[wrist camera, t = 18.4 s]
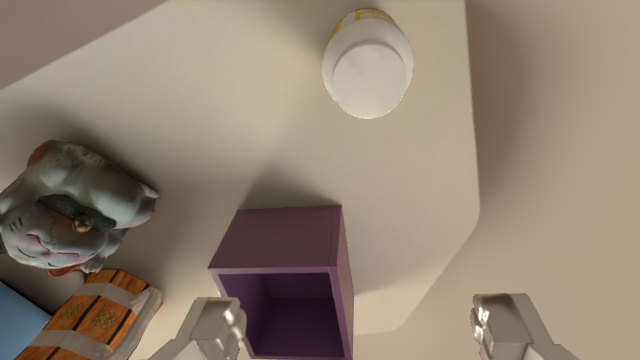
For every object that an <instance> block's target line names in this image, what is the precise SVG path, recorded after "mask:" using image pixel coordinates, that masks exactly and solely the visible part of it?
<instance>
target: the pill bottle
mask: <svg viewBox="0 0 640 360" xmlns="http://www.w3.org/2000/svg"><path fill="white" fill-rule="evenodd" d="M413 71H414V56H413V51H412V48H411V45H410V43H409V41H408V39H407V37H406V36H405V35H404V33H403V32H402V31H401V29H400V28H399V27H398V25H397V24H396V23H395V21H394V20H393V19H392V18H391V17H390V16H388V15H387V14H386V13H384V12H382V11H380V10H377V9H371V8H364V9H358V10H355V11H353V12H351V13H349V14H348V15H346V16H345V17H344V18H342V19H341V20H340V22H339V23H338V24H337V25H336V27H335V29H334V30H333V33H332V35H331V37H330V39H329V42H328V44H327V47H326V49H325V52H324V56H323V61H322V76H323V81H324V84H325V87H326V89H327V91H328V92H329V94H330V95H331V97H332V98H333V99H334V100H335V101H336V102H337V103H338V104H339V106H340V107H341V108H342V109H343V110H344V111H346V112H347V113H349V114H350V115H352V116H355V117H358V118H365V119H370V118H376V117H380V116H382V115H385V114H386V113H388V112H390V111H391V110H392V109H394V108H395V107H396V106H397V104H398V103H399V102H400V100H401V99H402V97H403V95H404V93H405V91H406V90H407V88H408V86H409V84H410V82H411V79H412V76H413Z"/></svg>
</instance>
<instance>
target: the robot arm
mask: <svg viewBox="0 0 640 360" xmlns="http://www.w3.org/2000/svg"><path fill="white" fill-rule="evenodd" d="M473 304H474V308H473V309H472V310H471V315H470V319H471V327H472V332H473V335H474V338H475V340H476V341H477V342H478V343H479V344H480V345H481V347H480V352H479V354H480V357H481V360H579V359H578V358H576V357H575V356H574V355H573V354H572V353H570V352H569V351H567V350H566V349H565V348H564V347H563V346H561V345H560V344H554V342H553V341H552V339H551V337H550V335H549V333H548V331H547V329H546V327H545V326H544V324H543V322H542V320H541V318H540V316H539V314H538V312H537V310H536V309H535V307H534V305H533V303H532V301H531V299H530V297H529V296H528V295H527V294H524V293H522V294H507V293H504V294H503V293H502V294H475V295H474V296H473ZM239 306H240V301H239V299H238V297H198V298H197V299H196V300H195V301H194V302H193V304H192V306H191V308H190V310H189V312H188V314H187V316H186V318H185V320H184V322H183V324H182V326H181V328H180V330H179V332H178V334H177V336H176V338H175V339H171V340H170V341H169V342H167V343H166V344H165V345H164V346H163V347H162V348H160V349H159V350H158V351H157V352H156V353H155V354H153V355H152V356H151V357H150V358H149V359H148V360H237V357H238V354H239V351H240V348H239V345H238V342H239V341H240V340H241V339H242V338H243V337H244V334H245V331H246V324H247V319H246V314H245V312H244V310H242V309H241V308H239Z"/></svg>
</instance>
